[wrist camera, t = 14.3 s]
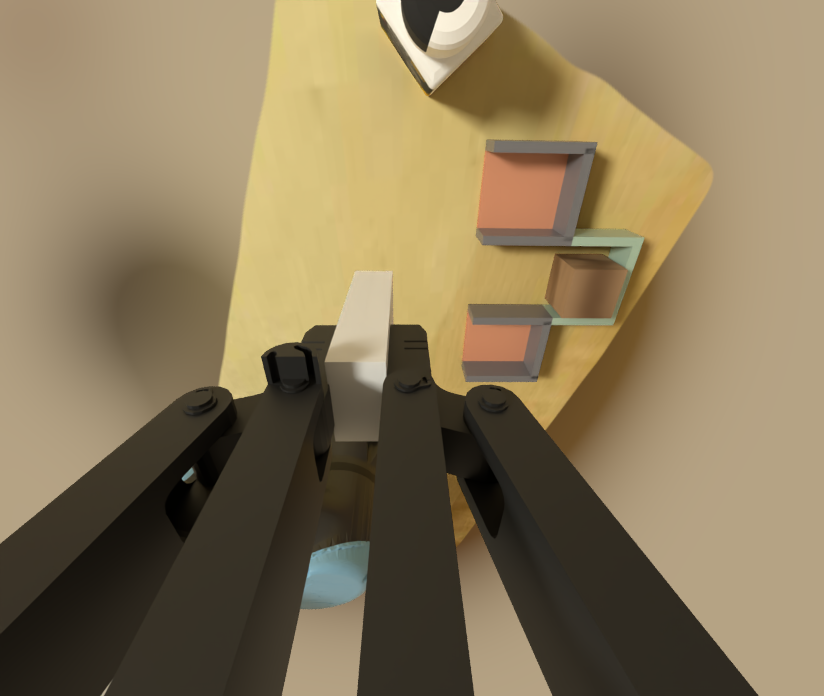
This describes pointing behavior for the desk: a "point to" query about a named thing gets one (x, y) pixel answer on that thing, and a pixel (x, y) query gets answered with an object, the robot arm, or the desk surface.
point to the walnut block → (584, 285)
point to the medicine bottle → (437, 34)
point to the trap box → (533, 226)
